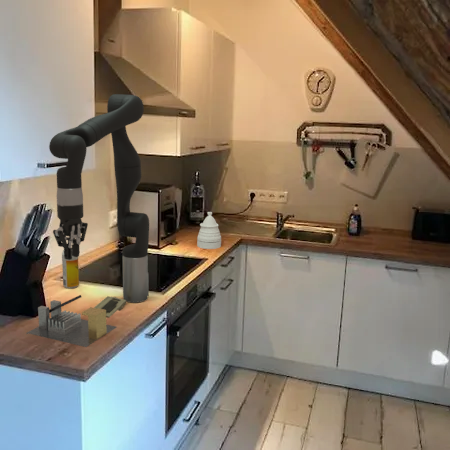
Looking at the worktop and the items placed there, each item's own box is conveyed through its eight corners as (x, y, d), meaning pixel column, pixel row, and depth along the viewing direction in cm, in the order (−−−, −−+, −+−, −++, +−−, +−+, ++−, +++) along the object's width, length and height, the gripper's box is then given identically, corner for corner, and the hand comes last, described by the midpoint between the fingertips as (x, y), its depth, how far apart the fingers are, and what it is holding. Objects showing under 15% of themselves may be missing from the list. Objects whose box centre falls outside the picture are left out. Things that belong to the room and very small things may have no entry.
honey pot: (197, 242, 276) (197, 210, 272) (220, 243, 277) (221, 211, 273) (197, 248, 264) (197, 215, 260) (221, 249, 265) (222, 215, 261)
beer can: (82, 286, 203) (81, 250, 199) (70, 290, 198) (68, 253, 194) (72, 282, 206) (70, 247, 203) (60, 286, 201) (58, 250, 198)
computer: (109, 322, 170) (109, 313, 169) (87, 320, 171) (87, 310, 170) (127, 305, 185) (126, 297, 184) (106, 303, 186) (106, 295, 186)
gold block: (92, 329, 160) (91, 306, 158) (106, 333, 158) (106, 309, 156) (82, 336, 155) (81, 312, 153) (96, 339, 153) (96, 315, 151)
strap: (53, 310, 163) (51, 308, 163) (82, 297, 158) (80, 294, 158) (46, 314, 160) (44, 311, 160) (75, 300, 154) (73, 297, 154)
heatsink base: (61, 318, 171) (60, 295, 169) (117, 330, 163) (116, 306, 161) (26, 336, 156) (25, 311, 155) (86, 350, 148) (85, 324, 146)
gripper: (74, 197, 158) (76, 250, 162) (43, 204, 145) (46, 262, 149) (94, 200, 155) (96, 254, 159) (64, 207, 142) (66, 265, 146)
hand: (72, 257), depth 154 cm, fingers open, 3 cm apart
